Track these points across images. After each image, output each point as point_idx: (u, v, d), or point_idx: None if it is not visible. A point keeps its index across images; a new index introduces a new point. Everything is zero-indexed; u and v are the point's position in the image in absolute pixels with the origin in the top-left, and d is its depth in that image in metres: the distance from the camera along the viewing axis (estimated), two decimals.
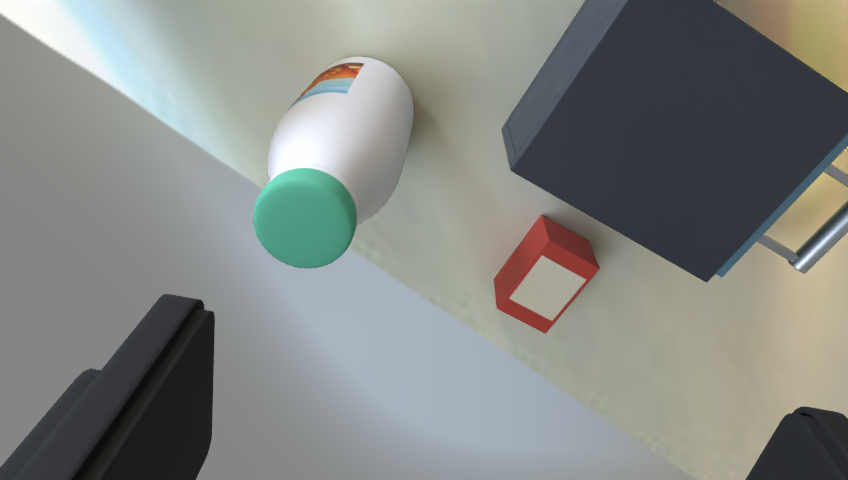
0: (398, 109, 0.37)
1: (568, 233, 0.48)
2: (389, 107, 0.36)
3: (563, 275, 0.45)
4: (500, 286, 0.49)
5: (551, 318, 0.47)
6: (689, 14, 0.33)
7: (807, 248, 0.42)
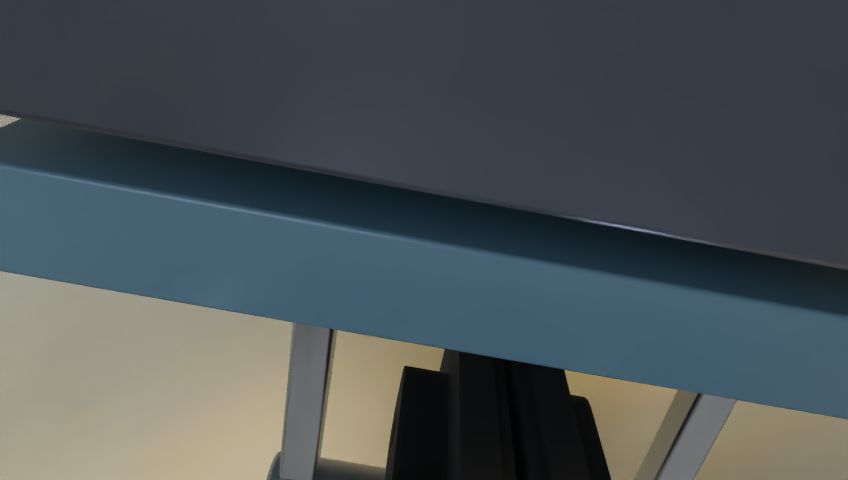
0: None
1: None
2: None
3: None
4: None
5: None
6: None
7: None
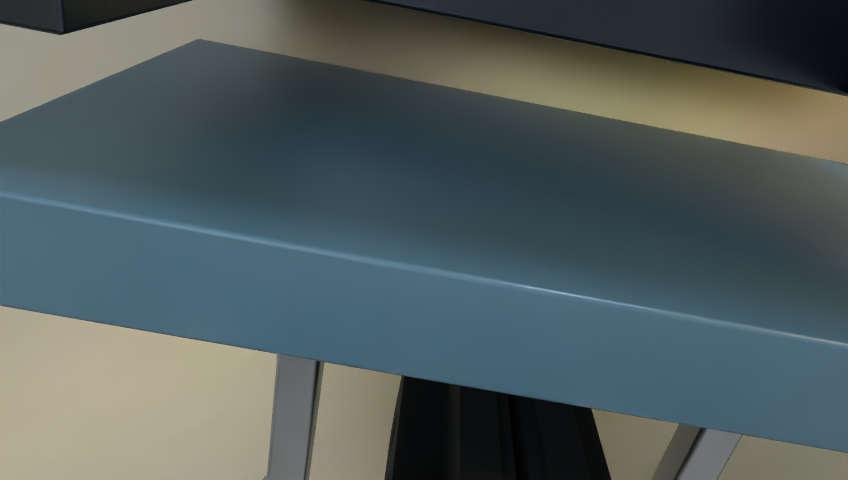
0: None
1: None
2: None
3: None
4: None
5: None
6: None
7: None
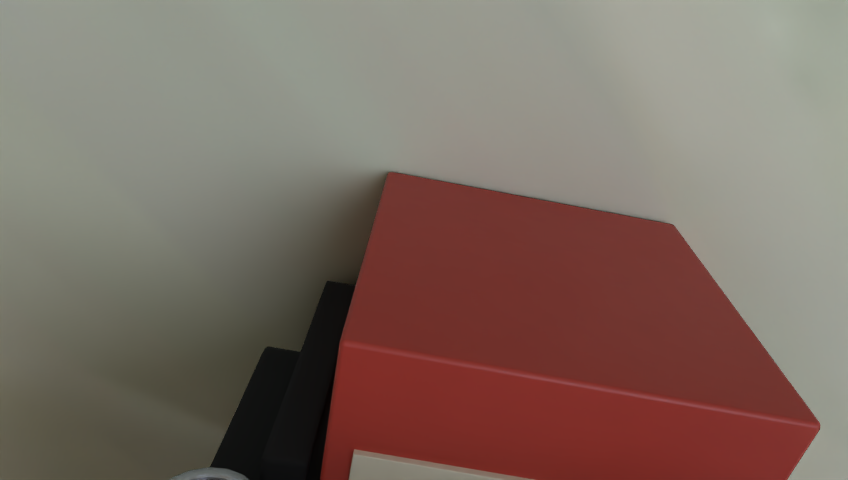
0: None
1: None
2: None
3: None
4: None
5: (365, 463, 0.06)
6: None
7: None
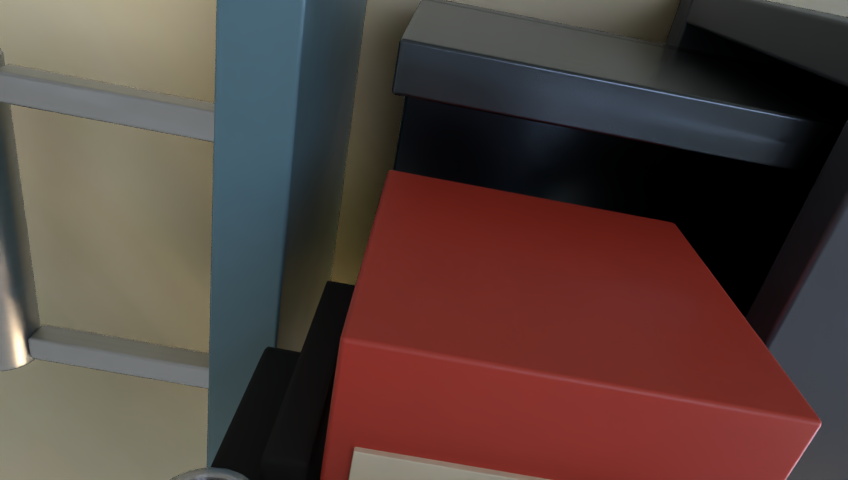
0: None
1: None
2: None
3: None
4: None
5: (366, 461, 0.06)
6: None
7: None
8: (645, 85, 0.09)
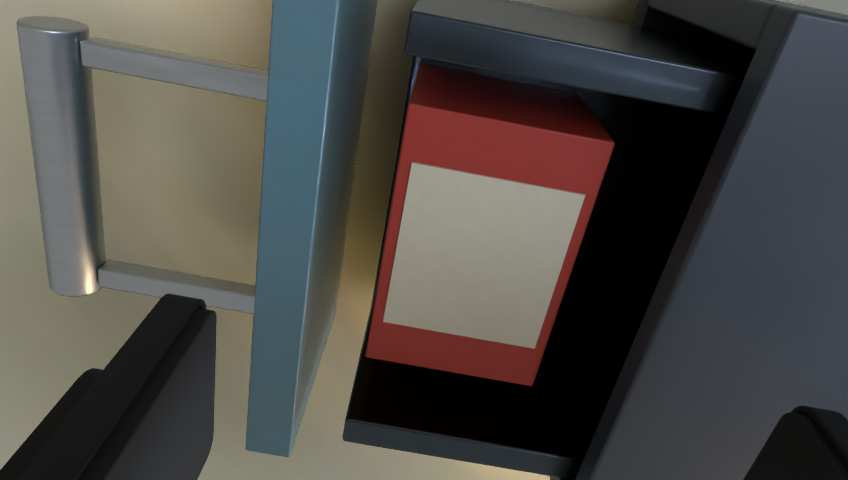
0: None
1: None
2: None
3: (450, 310, 0.15)
4: None
5: (416, 170, 0.14)
6: None
7: (80, 97, 0.14)
8: (597, 46, 0.11)
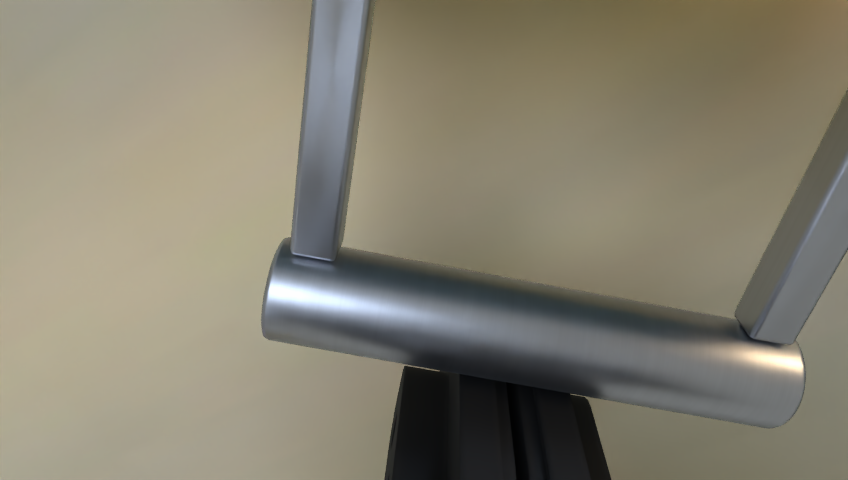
0: None
1: None
2: None
3: None
4: None
5: None
6: None
7: (393, 278, 0.08)
8: None
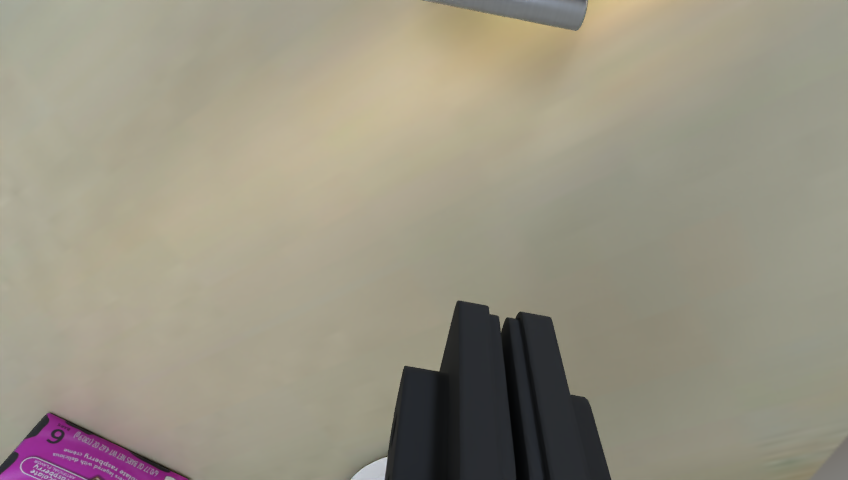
0: None
1: None
2: None
3: None
4: None
5: None
6: None
7: None
8: None
